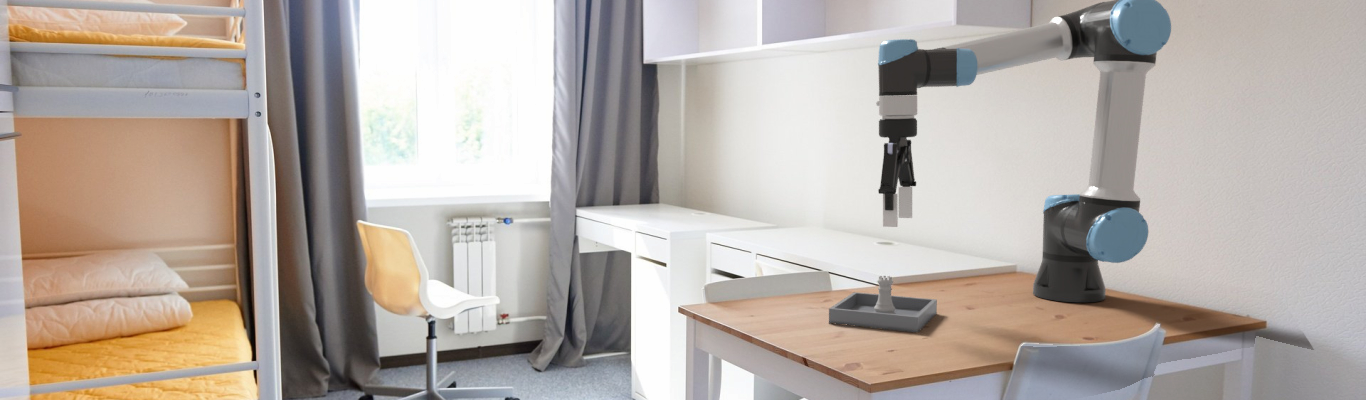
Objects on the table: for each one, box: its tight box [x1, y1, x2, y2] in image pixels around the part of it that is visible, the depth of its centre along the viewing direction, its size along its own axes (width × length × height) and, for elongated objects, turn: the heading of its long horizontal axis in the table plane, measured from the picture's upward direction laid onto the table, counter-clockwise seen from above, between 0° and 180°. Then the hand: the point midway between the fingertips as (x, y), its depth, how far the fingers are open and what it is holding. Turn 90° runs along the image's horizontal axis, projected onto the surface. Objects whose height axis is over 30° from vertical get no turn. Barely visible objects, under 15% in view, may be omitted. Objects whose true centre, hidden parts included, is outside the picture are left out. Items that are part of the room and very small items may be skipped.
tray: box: [828, 291, 938, 333], centre depth 191 cm, size 18×18×3 cm
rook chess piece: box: [874, 275, 896, 314], centre depth 191 cm, size 4×4×8 cm
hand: (898, 222), depth 192 cm, fingers open, 13 cm apart
